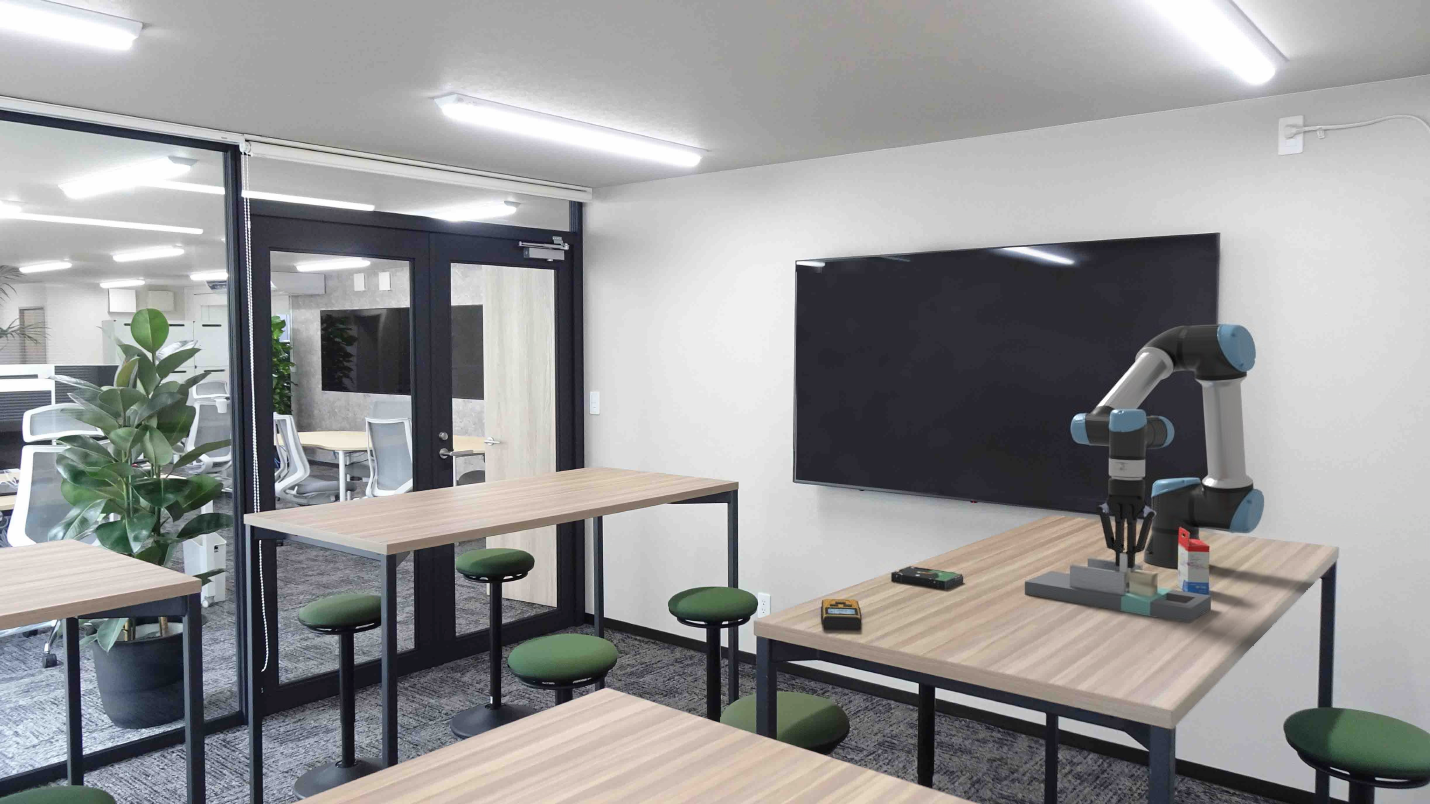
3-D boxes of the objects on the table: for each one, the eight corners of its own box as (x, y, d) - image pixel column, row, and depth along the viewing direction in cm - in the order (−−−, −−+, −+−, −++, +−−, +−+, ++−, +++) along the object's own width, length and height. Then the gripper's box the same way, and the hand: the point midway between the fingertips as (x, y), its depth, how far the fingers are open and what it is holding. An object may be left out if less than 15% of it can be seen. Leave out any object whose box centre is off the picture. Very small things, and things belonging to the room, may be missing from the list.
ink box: (1209, 595, 217) (1211, 533, 216) (1186, 594, 218) (1188, 532, 217) (1198, 587, 225) (1199, 526, 225) (1176, 586, 226) (1177, 526, 226)
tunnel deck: (1051, 582, 229) (1051, 550, 229) (1210, 609, 205) (1211, 573, 205) (1024, 593, 218) (1025, 560, 218) (1190, 622, 194) (1190, 584, 194)
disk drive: (890, 584, 231) (946, 592, 222) (890, 572, 231) (946, 580, 222) (909, 576, 240) (964, 583, 230) (909, 565, 239) (964, 572, 230)
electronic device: (859, 613, 204) (859, 598, 204) (862, 633, 188) (863, 616, 188) (820, 612, 205) (820, 596, 205) (821, 631, 189) (821, 614, 189)
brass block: (1136, 589, 210) (1136, 569, 210) (1157, 592, 207) (1157, 572, 207) (1129, 593, 207) (1129, 572, 207) (1150, 596, 204) (1150, 576, 204)
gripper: (1091, 476, 211) (1089, 579, 212) (1151, 481, 202) (1149, 589, 203) (1103, 473, 216) (1101, 574, 217) (1162, 478, 208) (1160, 583, 208)
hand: (1124, 581), depth 210 cm, fingers closed
